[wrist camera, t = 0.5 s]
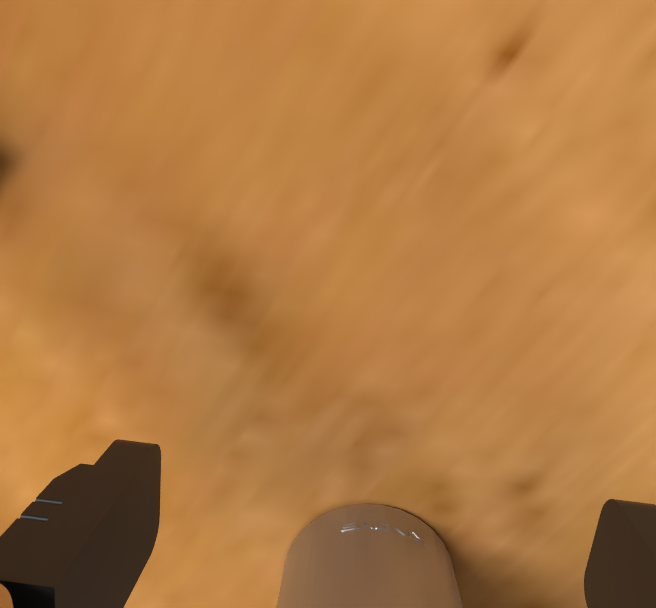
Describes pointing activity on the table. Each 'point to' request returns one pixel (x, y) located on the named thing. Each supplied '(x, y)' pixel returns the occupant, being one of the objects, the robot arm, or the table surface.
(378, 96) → the table surface
